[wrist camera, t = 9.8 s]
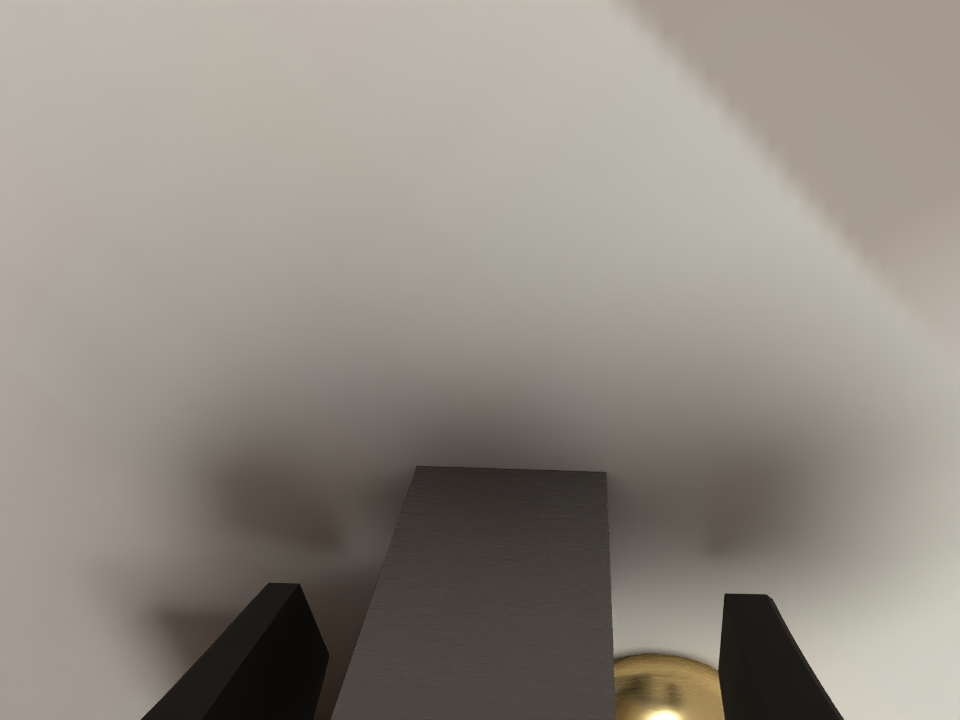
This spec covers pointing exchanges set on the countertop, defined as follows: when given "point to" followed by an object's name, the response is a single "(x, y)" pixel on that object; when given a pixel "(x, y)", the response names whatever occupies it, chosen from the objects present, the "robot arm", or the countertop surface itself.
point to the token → (666, 689)
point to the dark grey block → (490, 603)
